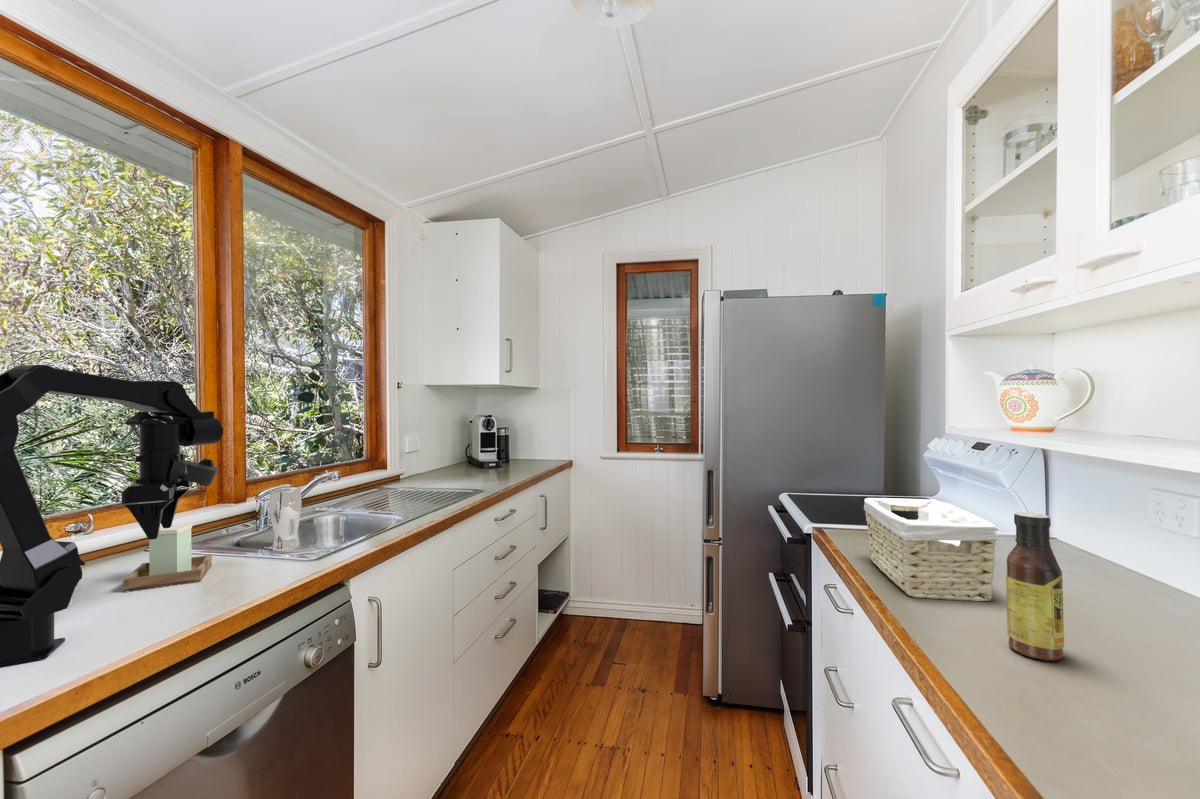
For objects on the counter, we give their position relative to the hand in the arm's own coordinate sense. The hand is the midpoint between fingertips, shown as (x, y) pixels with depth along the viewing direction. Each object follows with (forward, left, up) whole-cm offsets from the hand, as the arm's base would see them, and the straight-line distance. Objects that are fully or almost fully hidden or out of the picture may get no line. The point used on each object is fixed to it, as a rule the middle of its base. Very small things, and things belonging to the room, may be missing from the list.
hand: (160, 533), depth 93 cm
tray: (+17, +2, -13) cm, 21 cm away
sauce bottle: (-87, -117, -13) cm, 146 cm away
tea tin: (+17, +2, -12) cm, 21 cm away
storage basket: (-63, -134, -13) cm, 148 cm away
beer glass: (+31, -18, -13) cm, 38 cm away
